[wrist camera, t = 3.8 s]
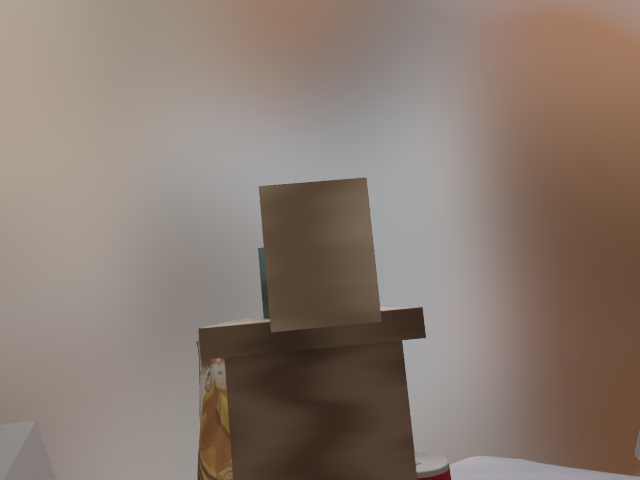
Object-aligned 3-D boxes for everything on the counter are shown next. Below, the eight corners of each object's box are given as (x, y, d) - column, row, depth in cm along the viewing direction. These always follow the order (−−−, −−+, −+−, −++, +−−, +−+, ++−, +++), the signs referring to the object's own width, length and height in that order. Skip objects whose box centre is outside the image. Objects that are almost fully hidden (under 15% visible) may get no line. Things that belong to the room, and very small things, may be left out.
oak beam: (214, 337, 14) (201, 155, 15) (267, 316, 44) (262, 255, 45) (436, 316, 15) (414, 139, 15) (340, 309, 45) (335, 249, 45)
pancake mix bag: (236, 551, 70) (220, 333, 73) (299, 621, 53) (275, 334, 57) (184, 568, 67) (170, 338, 70) (234, 647, 50) (213, 341, 53)
